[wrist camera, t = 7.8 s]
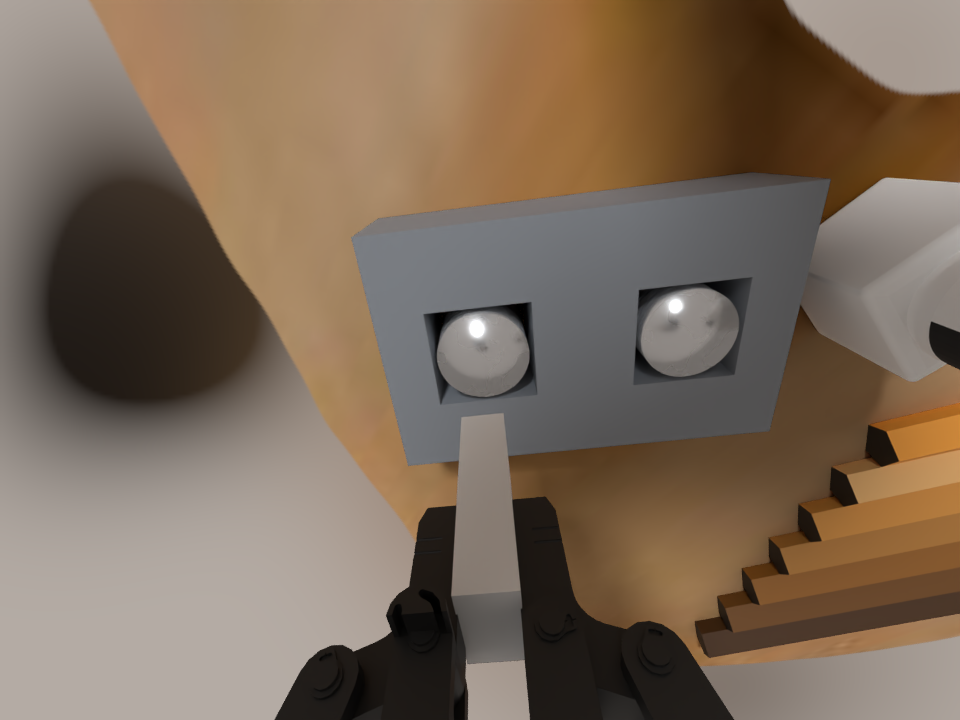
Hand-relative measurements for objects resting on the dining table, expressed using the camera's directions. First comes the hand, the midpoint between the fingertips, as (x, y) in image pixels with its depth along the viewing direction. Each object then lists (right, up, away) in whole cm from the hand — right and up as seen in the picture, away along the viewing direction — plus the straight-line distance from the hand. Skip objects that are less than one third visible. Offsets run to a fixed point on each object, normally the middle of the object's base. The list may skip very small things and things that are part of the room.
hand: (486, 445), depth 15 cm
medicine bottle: (+23, +9, +11) cm, 27 cm away
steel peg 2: (+11, +7, +11) cm, 17 cm away
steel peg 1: (0, +6, +12) cm, 13 cm away
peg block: (+5, +7, +12) cm, 15 cm away
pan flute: (+31, -12, +23) cm, 41 cm away
